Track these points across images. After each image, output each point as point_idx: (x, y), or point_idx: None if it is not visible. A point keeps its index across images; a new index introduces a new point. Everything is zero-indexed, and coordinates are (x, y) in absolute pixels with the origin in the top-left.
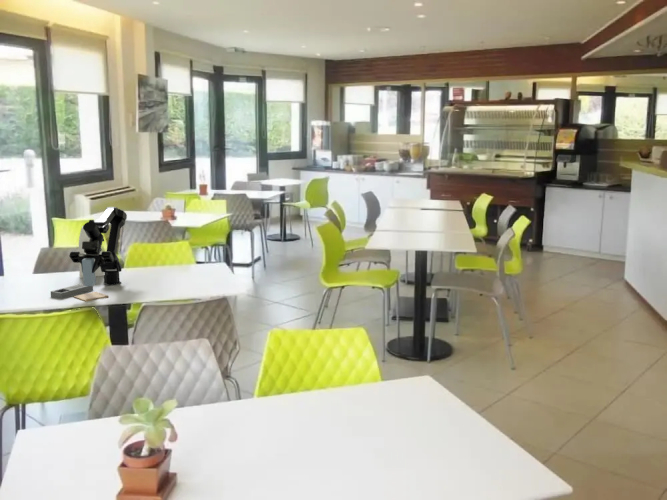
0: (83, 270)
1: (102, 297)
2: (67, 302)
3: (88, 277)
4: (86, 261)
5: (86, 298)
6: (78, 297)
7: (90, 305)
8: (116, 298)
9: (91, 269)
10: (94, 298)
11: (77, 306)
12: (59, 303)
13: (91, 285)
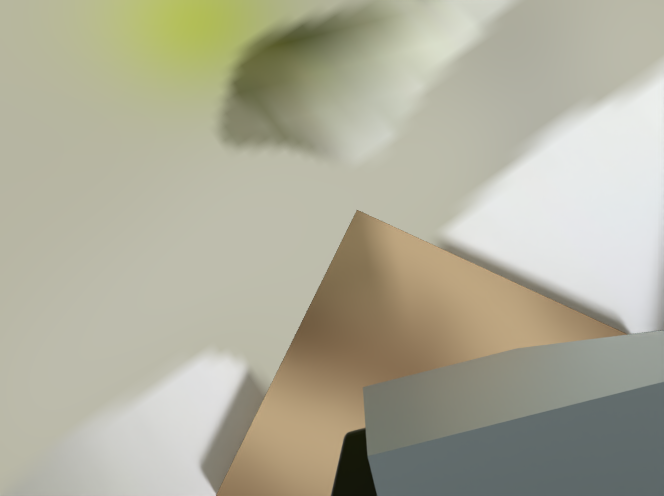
0: (627, 339)
1: (253, 421)
2: (578, 170)
3: (447, 373)
4: (655, 373)
5: (406, 291)
6: (544, 311)
7: (231, 129)
8: (94, 487)
9: (364, 409)
10: (305, 318)
11: (348, 60)
12: (638, 111)
13: (384, 382)
